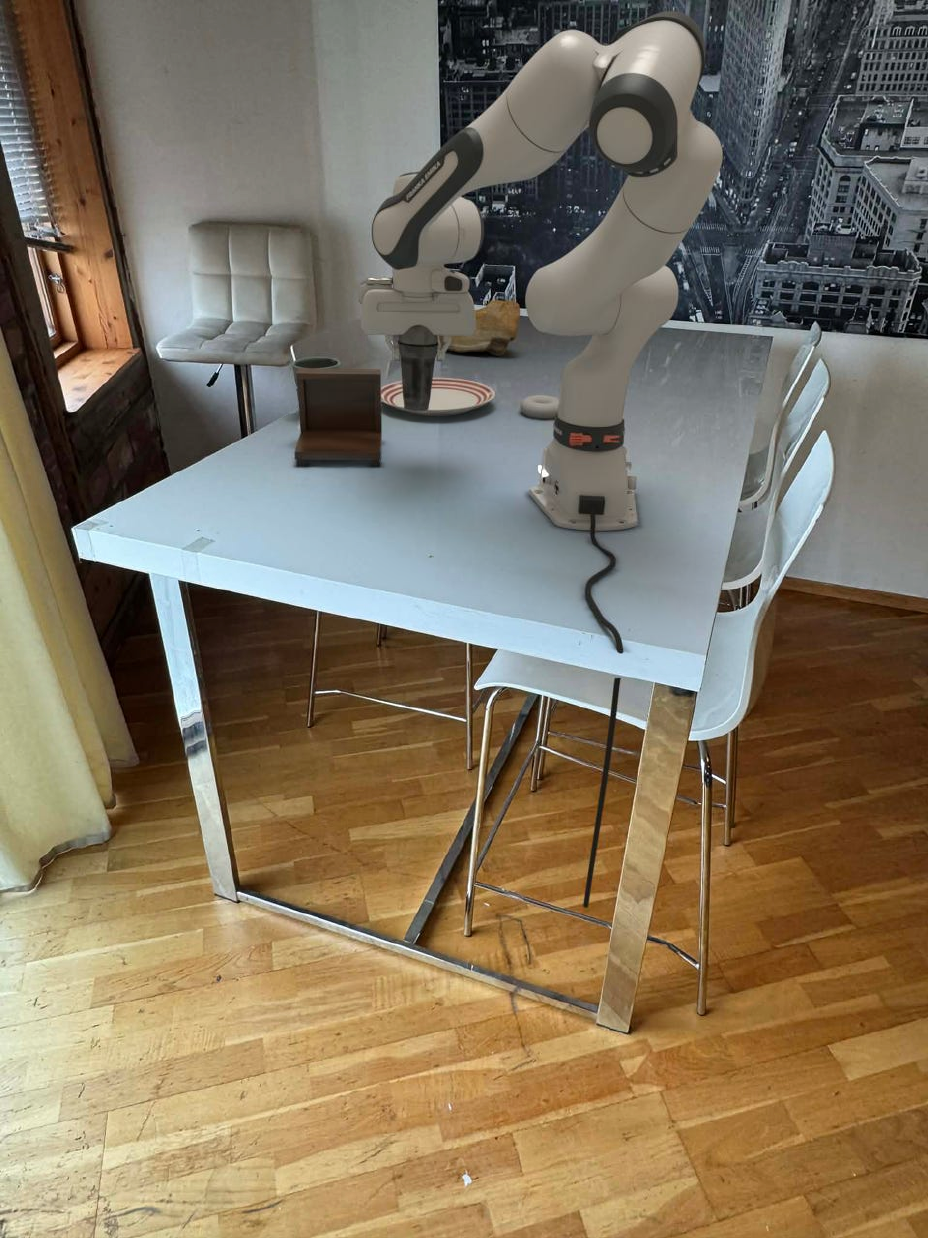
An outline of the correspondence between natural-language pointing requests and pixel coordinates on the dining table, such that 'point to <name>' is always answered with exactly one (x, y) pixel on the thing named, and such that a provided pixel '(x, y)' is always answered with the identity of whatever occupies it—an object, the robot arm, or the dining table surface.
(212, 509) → the dining table surface
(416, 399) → the beverage cup
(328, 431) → the shelf
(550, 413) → the donut
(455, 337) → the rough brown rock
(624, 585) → the dining table surface
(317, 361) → the drinking glass
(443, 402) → the dinner plate
